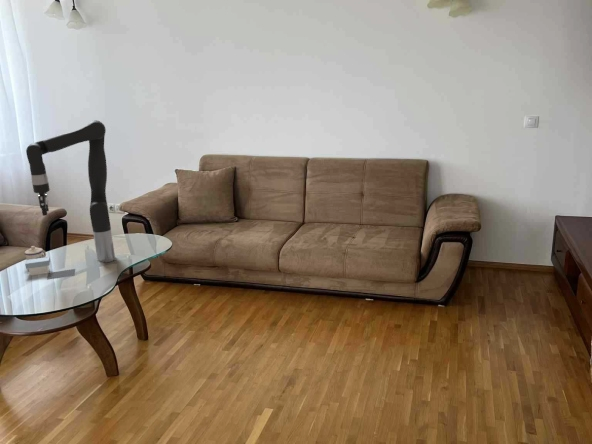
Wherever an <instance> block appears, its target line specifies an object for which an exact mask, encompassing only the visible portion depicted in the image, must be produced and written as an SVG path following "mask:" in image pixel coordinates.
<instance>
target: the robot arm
mask: <svg viewBox="0 0 592 444" xmlns="http://www.w3.org/2000/svg"><path fill="white" fill-rule="evenodd" d="M105 136H106V126H105V124H104V123H103V122H102V121H99V120H92V121H90V122H88V124H87V125H85V126H84V127H82V128H80V129H78V130H77V129H76V130H75V131H70V132H66V133H65V132H64V133H61V134H58V135H55V136H52V137H50V138H47V139H44V140H39V141H37V142H36V141H35V142H32V143H30V144H28V146H27V147H26V150H25V151H26V152H25V153H26V157H27V160H28V164H29V170H30V177H31V183H32V188H33V189H32V190H33V193H34V194H38V195H37V196H38V202H39V208H40V209H41V214H42V216H43V217H44V216H48V212H49V211H50V210H49V198H48V192H50V190H51V189H50V184H49V183H50V182H49V178H48V175H47V170H46V165H45V162H44V160H43V159H44V158H43V155H46V154H49V153H54V152H57V151H61V150H63V149H65V148H68V147H72V146H74V145H77V144H79V143H84V142H88V143H89V146H88V147H89V150H88V159H87V160H88V161H87V171H88V182H89V186H90V205H89V217H90V222H91V228H92V231H93V232H92V233H93V239H94V246H95V252H96V259H97V261H98V262H103V263H110V262H113V260H114V261H116V255H115V254H116V253H115V248H114V247H115V246H114V241H113V235H112V234H113V233H112V227H111V221H110V220H111V219H110V214H109V207H108V201H107V193H106V188H107V187H106V186H107V181H108V180H107V179H108V178H107V177H108V169H107V168H108V167H107V158H106V151H105Z"/></svg>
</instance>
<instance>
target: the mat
mask: <svg viewBox="0 0 592 444" xmlns="http://www.w3.org/2000/svg"><path fill="white" fill-rule="evenodd" d="M75 274H76V268H71V269H65V270H58V271H52V272H49V273H47V278H46V280H54V279H61V278H68V277H74V276H75Z"/></svg>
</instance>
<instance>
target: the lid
mask: <svg viewBox="0 0 592 444" xmlns="http://www.w3.org/2000/svg"><path fill="white" fill-rule="evenodd" d="M24 264H25V269H27V270H28V268H34V267H41V266H48V265H49V266H50V264H51V259H50V256H46V257H44V258H37V259H30V260H26V259H25V263H24Z"/></svg>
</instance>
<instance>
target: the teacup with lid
mask: <svg viewBox="0 0 592 444" xmlns="http://www.w3.org/2000/svg"><path fill="white" fill-rule="evenodd" d="M24 255H25V261H26V260H30V259H37V258H44V257H47V256H46V255H47V253H46V250H44V249H43V248H42V247H36V246H35V245H32V246H30V248H29V249H27V250H25V251H24Z"/></svg>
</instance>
